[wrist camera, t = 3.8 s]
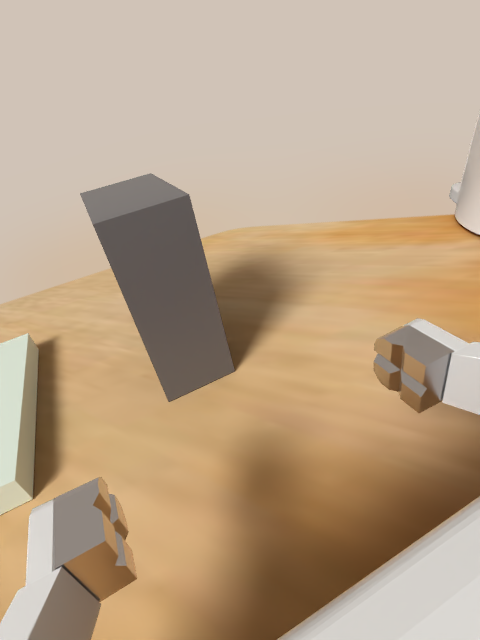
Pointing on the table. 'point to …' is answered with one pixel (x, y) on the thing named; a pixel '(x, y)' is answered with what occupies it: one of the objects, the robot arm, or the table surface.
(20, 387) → the pin board
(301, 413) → the table surface
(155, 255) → the block
